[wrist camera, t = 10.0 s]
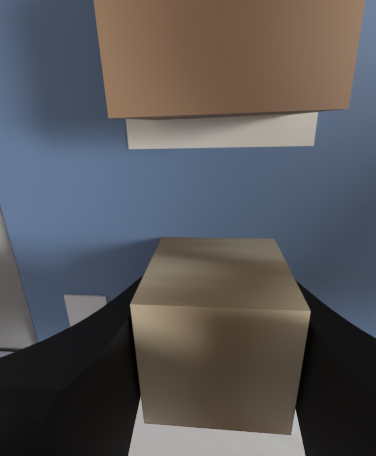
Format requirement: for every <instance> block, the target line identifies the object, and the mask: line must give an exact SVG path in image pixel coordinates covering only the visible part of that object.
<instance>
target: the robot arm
mask: <svg viewBox="0 0 376 456" xmlns="http://www.w3.org/2000/svg"><path fill="white" fill-rule="evenodd" d="M143 276H144V275H142V276H141V277H140V278H139V279H138V280H136V281H135V282H134V283H133V284H132V285H131V286H129V287H128V288H127V289H126V290H124V291H123V292H122V293H121V294H120V295H118V296H117V297H116V298H114V299H113V300H111V301H110V302H109V303H107V304H106V305H105V306H103V307H102V308H101V309H99V310H98V311H96V312H95V313H93V314H91V315H90V316H88V317H87V318H85V319H83V320H82V321H80V322H78V323H77V324H75V325H73V326H71V327H69V328H67V329H65V330H63V331H61V332H59V333H57V334H55V335H53V336H51V337H49V338H47V339H45V340H43V341H40V342H38V343H36V344H34V345H31V346H29V347H26V348H24V349H21V350H19V351H16V352H4V351H0V456H128V453H129V448H130V443H131V438H132V433H133V428H134V424H135V419H136V415H137V410H138V405H139V401H140V397H141V392H140V384H139V375H138V367H137V358H136V350H135V342H134V333H133V325H132V317H131V308H130V303H131V301H132V299H133V297H134V295H135V293H136V291H137V289H138V286H139V284H140V282H141V280H142V278H143ZM295 281H296V280H295ZM296 283H297V285H298V287H299V289H300V291H301V293H302V295H303V297H304V299H305V301H306V303H307V305H308V307H309V309H310V311H311V313H310V319H309V326H308V332H307V338H306V344H305V350H304V357H303V363H302V369H301V375H300V382H299V388H298V394H297V400H296V406H295V409H296V413H297V417H298V422H299V426H300V431H301V436H302V440H303V445H304V450H305V455H306V456H376V338H374V337H373V336H371V335H370V334H368V333H366V332H365V331H363V330H361V329H360V328H358V327H356V326H355V325H353V324H352V323H350V322H349V321H347V320H346V319H345V318H343V317H342V316H340V315H339V314H338V313H336V312H335V311H333V310H332V309H331V308H329V307H328V306H327V305H325V304H324V303H323V302H322V301H320V300H319V299H318V298H317V297H315V296H314V295H313V294H312V293H310V292H309V291H308V290H307V289H306V288H304V287H303V286H302V285H301V284H300V283H299V282H297V281H296Z"/></svg>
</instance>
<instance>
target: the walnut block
mask: <svg viewBox="0 0 376 456" xmlns="http://www.w3.org/2000/svg"><path fill="white" fill-rule="evenodd" d="M365 1H366V0H94V8H95V16H96V24H97V32H98V40H99V48H100V55H101V63H102V71H103V79H104V87H105V95H106V103H107V111H108V118H114V119H140V120H170V119H196V118H222V117H249V116H275V115H293V114H303V113H313V112H323V111H333V110H342V109H349V102H350V96H351V90H352V83H353V77H354V71H355V64H356V58H357V52H358V45H359V39H360V33H361V26H362V20H363V14H364V7H365Z"/></svg>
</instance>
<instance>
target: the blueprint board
mask: <svg viewBox="0 0 376 456" xmlns="http://www.w3.org/2000/svg"><path fill="white" fill-rule="evenodd" d="M0 206H1V210H2V214H3V217H4V221H5V225H6V228H7V232H8V235H9V239H10V243H11V246H12V250H13V253H14V257H15V261H16V264H17V268H18V271H19V275H20V279H21V282H22V286H23V290H24V293H25V297H26V300H27V304H28V308H29V311H30V315H31V318H32V322H33V326H34V329H35V333H36V336H37V340H38V342H40V341H43V340H45V339H47V338H49V337H51V336H53V335H55V334H57V333H59V332H61V331H63V330H65V329H67V328H69V327H71V326H73V325H75V324H77V323H78V322H80V321H82V320H83V319H85V318H87V317H88V316H90V315H91V314H93V313H95V312H96V311H98V310H99V309H101V308H102V307H103V306H105V305H106V304H107V303H109V302H110V301H111V300H113V299H114V298H116V297H117V296H118V295H120V294H121V293H122V292H123V291H124V290H126V289H127V288H128V287H129V286H131V285H132V284H133V283H134V282H135V281H136V280H138V279H139V278H140V277H141V276H142V275H144V274H145V272H146V269H147V267H148V265H149V263H150V261H151V259H152V257H153V255H154V253H155V250H156V248H157V246H158V244H159V242H160V240H161V238H162V237H195V238H269V239H275V241H276V243H277V245H278V247H279V249H280V251H281V253H282V255H283V257H284V259H285V261H286V263H287V265H288V267H289V269H290V271H291V273H292V275H293V277H294V279H295V280H296V281H297V282H299V283H300V284H301V285H302V286H303V287H304V288H306V289H307V290H308V291H309V292H310V293H312V294H313V295H314V296H315V297H317V298H318V299H319V300H320V301H322V302H323V303H324V304H325V305H327V306H328V307H329V308H331V309H332V310H333V311H335V312H336V313H338V314H339V315H340V316H342V317H343V318H345V319H346V320H347V321H349V322H350V323H352V324H353V325H355V326H356V327H358V328H360V329H361V330H363V331H365V332H366V333H368V334H370V335H371V336H373V337H374V338H376V0H366V1H365V7H364V14H363V20H362V26H361V33H360V39H359V45H358V52H357V58H356V64H355V71H354V77H353V83H352V90H351V96H350V102H349V109H342V110H333V111H323V112H313V113H303V114H293V115H275V116H249V117H222V118H196V119H170V120H140V119H114V118H108V111H107V103H106V95H105V87H104V79H103V71H102V63H101V55H100V48H99V40H98V32H97V24H96V16H95V8H94V0H0Z"/></svg>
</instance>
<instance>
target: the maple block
mask: <svg viewBox="0 0 376 456" xmlns="http://www.w3.org/2000/svg"><path fill="white" fill-rule="evenodd" d="M130 308H131V317H132V325H133V333H134V342H135V350H136V358H137V367H138V375H139V384H140V392H141V400H142V409H143V417H144V423H147V424H160V425H172V426H185V427H197V428H210V429H222V430H234V431H247V432H259V433H272V434H284V435H291V431H292V425H293V419H294V413H295V406H296V400H297V394H298V388H299V382H300V375H301V369H302V363H303V357H304V350H305V344H306V338H307V332H308V326H309V319H310V313H311V311H310V309H309V307H308V305H307V303H306V301H305V299H304V297H303V295H302V293H301V291H300V289H299V287H298V285H297V283H296V281H295V279H294V277H293V275H292V273H291V271H290V269H289V267H288V265H287V263H286V261H285V259H284V257H283V255H282V253H281V251H280V249H279V247H278V245H277V243H276V241H275V239H269V238H195V237H162V238H161V240H160V242H159V244H158V246H157V248H156V250H155V253H154V255H153V257H152V259H151V261H150V263H149V265H148V267H147V269H146V272H145V274H144V276H143V278H142V280H141V282H140V284H139V286H138V289H137V291H136V293H135V295H134V297H133V299H132V301H131V303H130Z"/></svg>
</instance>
